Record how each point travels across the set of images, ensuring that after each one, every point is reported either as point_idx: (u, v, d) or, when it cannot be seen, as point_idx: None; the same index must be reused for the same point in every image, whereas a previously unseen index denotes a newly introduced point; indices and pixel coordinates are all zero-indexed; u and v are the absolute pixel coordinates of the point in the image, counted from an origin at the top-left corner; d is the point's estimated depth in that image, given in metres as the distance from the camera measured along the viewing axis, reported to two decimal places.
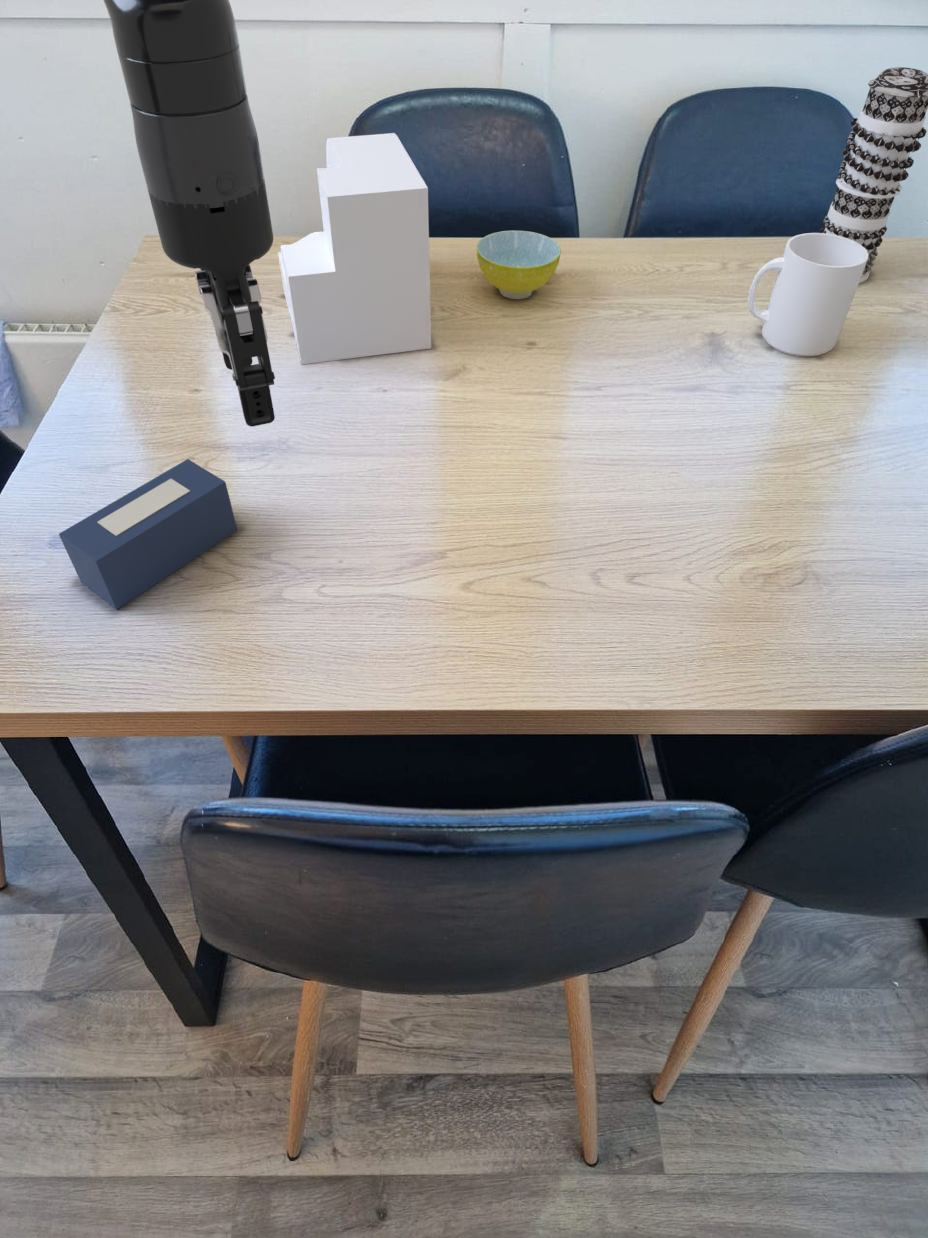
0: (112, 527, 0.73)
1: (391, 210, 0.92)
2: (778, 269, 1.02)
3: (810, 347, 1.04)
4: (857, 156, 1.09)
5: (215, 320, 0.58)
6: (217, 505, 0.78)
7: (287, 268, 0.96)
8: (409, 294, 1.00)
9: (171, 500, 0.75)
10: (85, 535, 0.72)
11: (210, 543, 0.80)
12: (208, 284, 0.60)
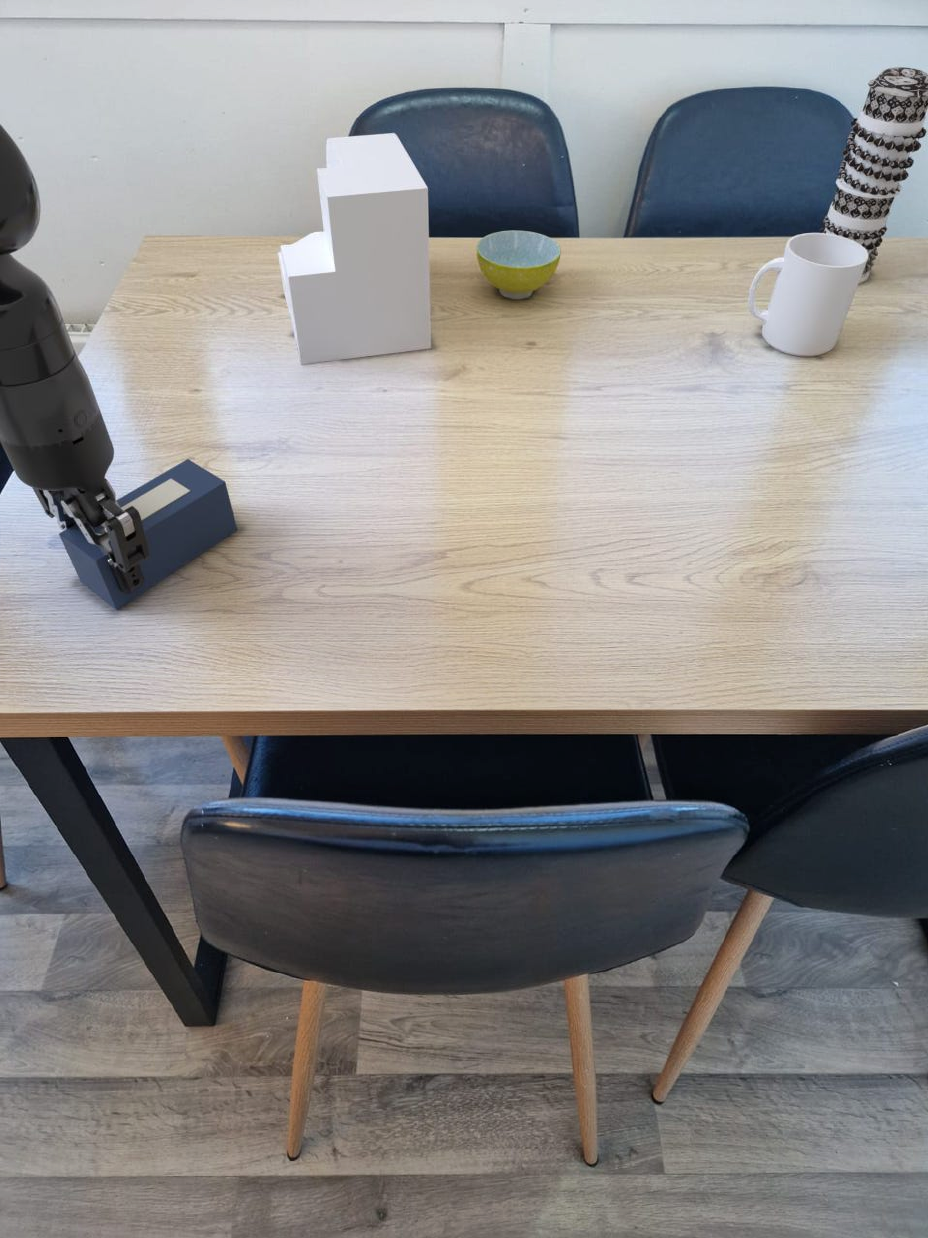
0: None
1: (391, 210, 0.92)
2: (778, 269, 1.02)
3: (810, 347, 1.04)
4: (857, 156, 1.09)
5: (85, 525, 0.68)
6: (217, 505, 0.78)
7: (287, 268, 0.96)
8: (409, 294, 1.00)
9: (171, 500, 0.75)
10: None
11: (210, 543, 0.80)
12: (60, 494, 0.68)
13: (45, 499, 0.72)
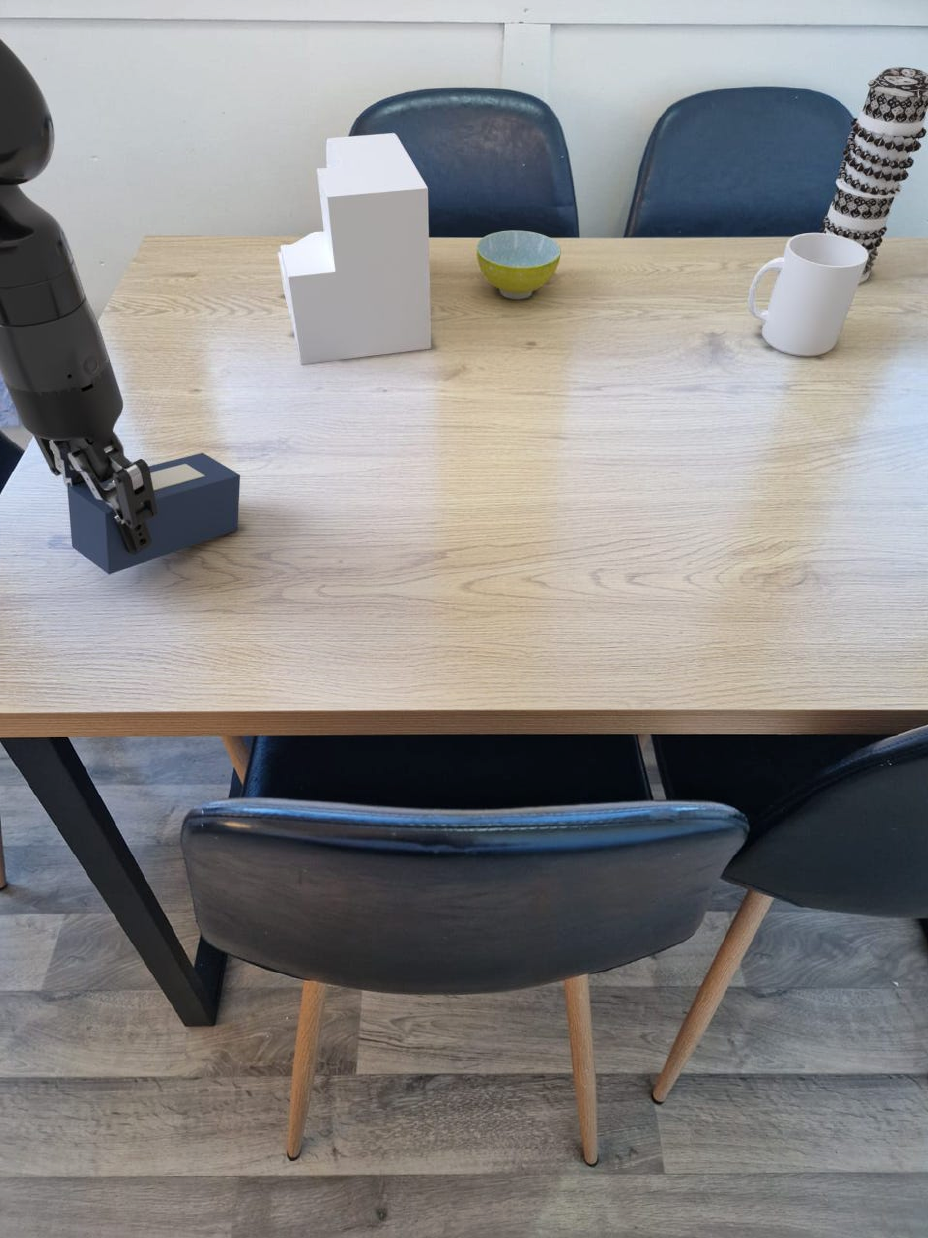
0: None
1: (391, 210, 0.92)
2: (778, 269, 1.02)
3: (810, 347, 1.04)
4: (857, 156, 1.09)
5: (92, 479, 0.66)
6: (227, 496, 0.79)
7: (287, 268, 0.96)
8: (409, 294, 1.00)
9: (186, 480, 0.76)
10: None
11: (210, 534, 0.79)
12: (67, 448, 0.67)
13: (51, 455, 0.71)
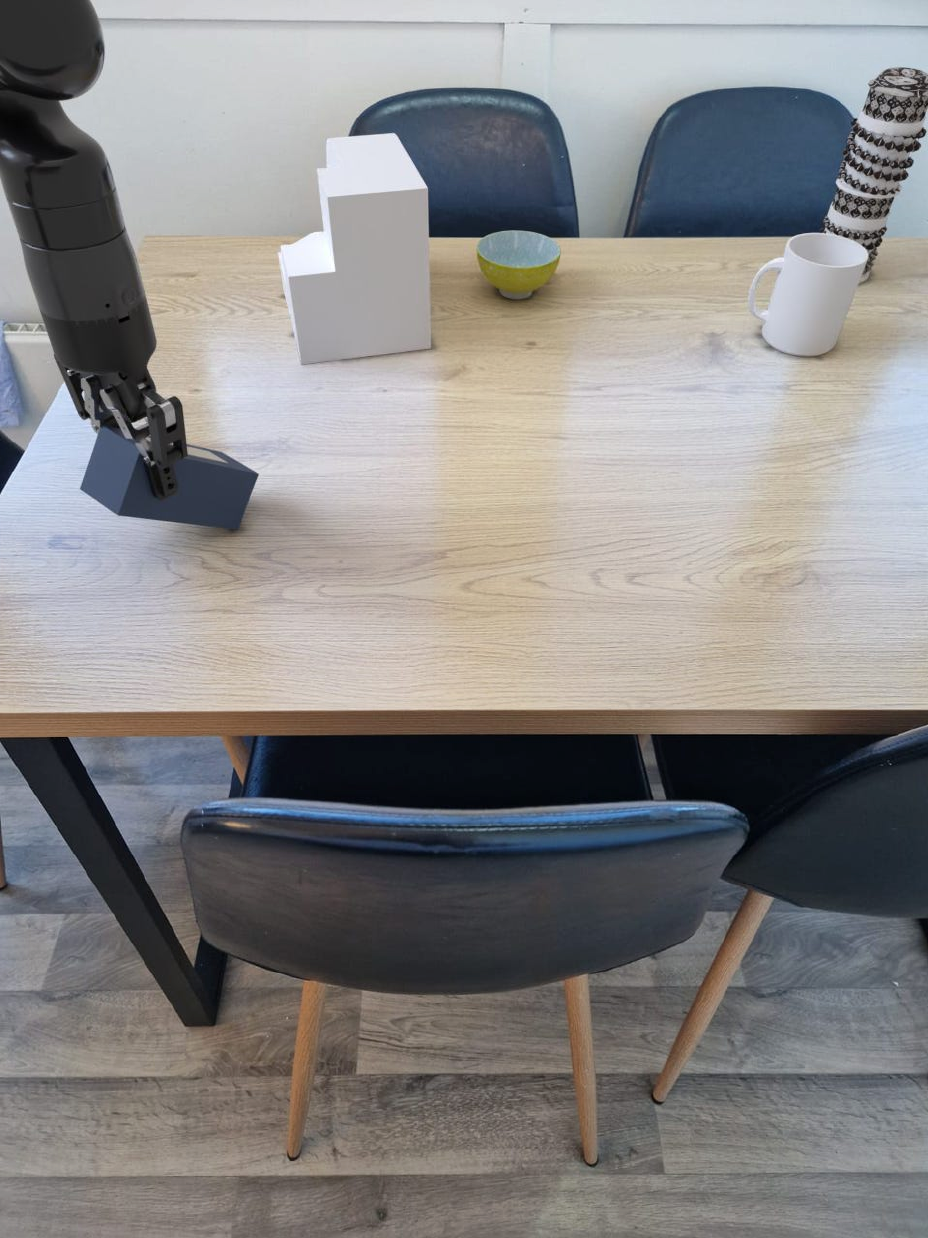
0: None
1: (391, 210, 0.92)
2: (778, 269, 1.02)
3: (810, 347, 1.04)
4: (857, 156, 1.09)
5: (124, 417, 0.66)
6: (241, 490, 0.80)
7: (287, 268, 0.96)
8: (409, 294, 1.00)
9: (211, 458, 0.77)
10: None
11: (215, 522, 0.79)
12: (98, 386, 0.66)
13: (79, 398, 0.70)
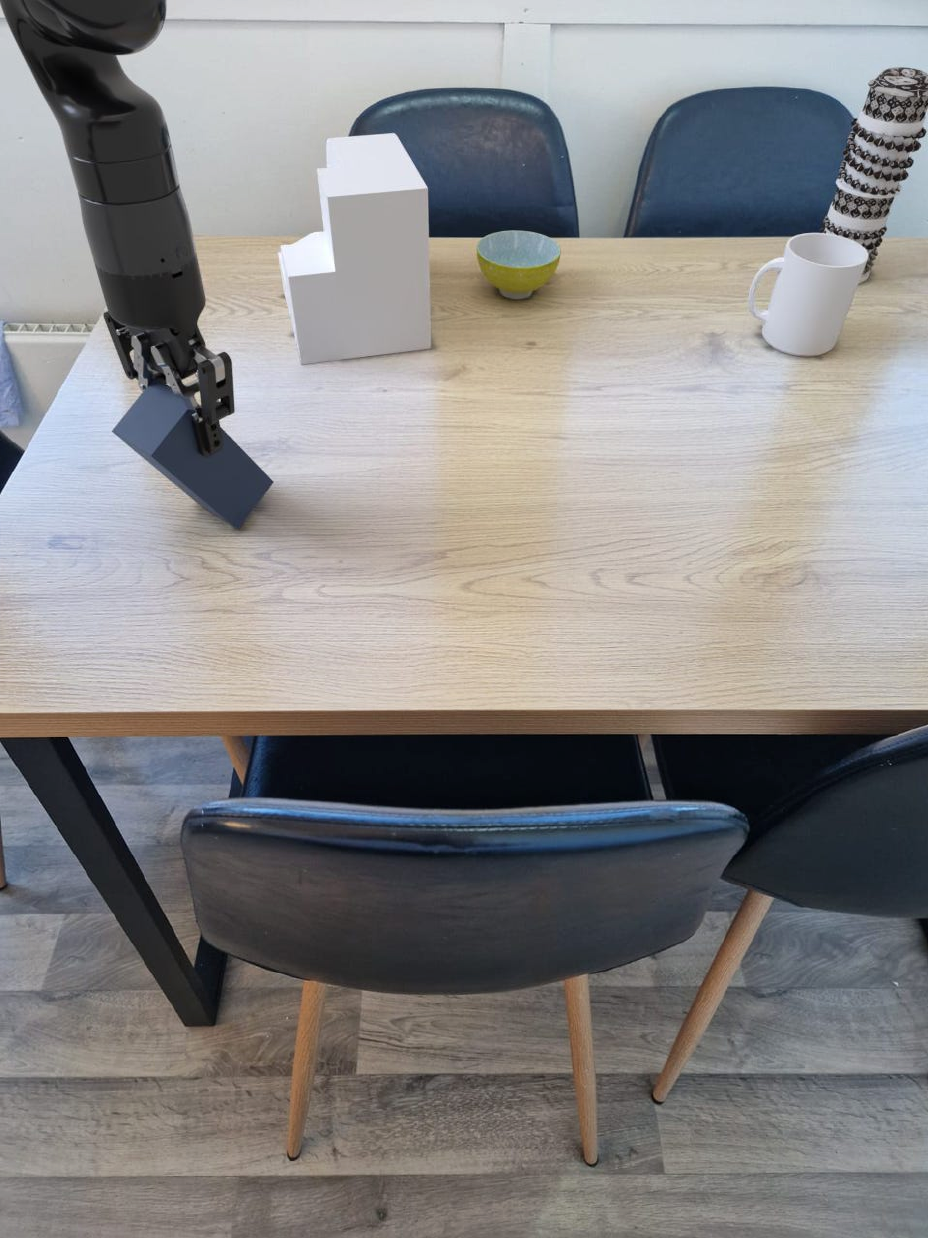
0: None
1: (391, 210, 0.92)
2: (778, 269, 1.02)
3: (810, 347, 1.04)
4: (857, 156, 1.09)
5: (174, 373, 0.67)
6: (255, 490, 0.81)
7: (287, 268, 0.96)
8: (409, 294, 1.00)
9: None
10: None
11: (223, 510, 0.79)
12: (148, 343, 0.68)
13: (127, 357, 0.72)
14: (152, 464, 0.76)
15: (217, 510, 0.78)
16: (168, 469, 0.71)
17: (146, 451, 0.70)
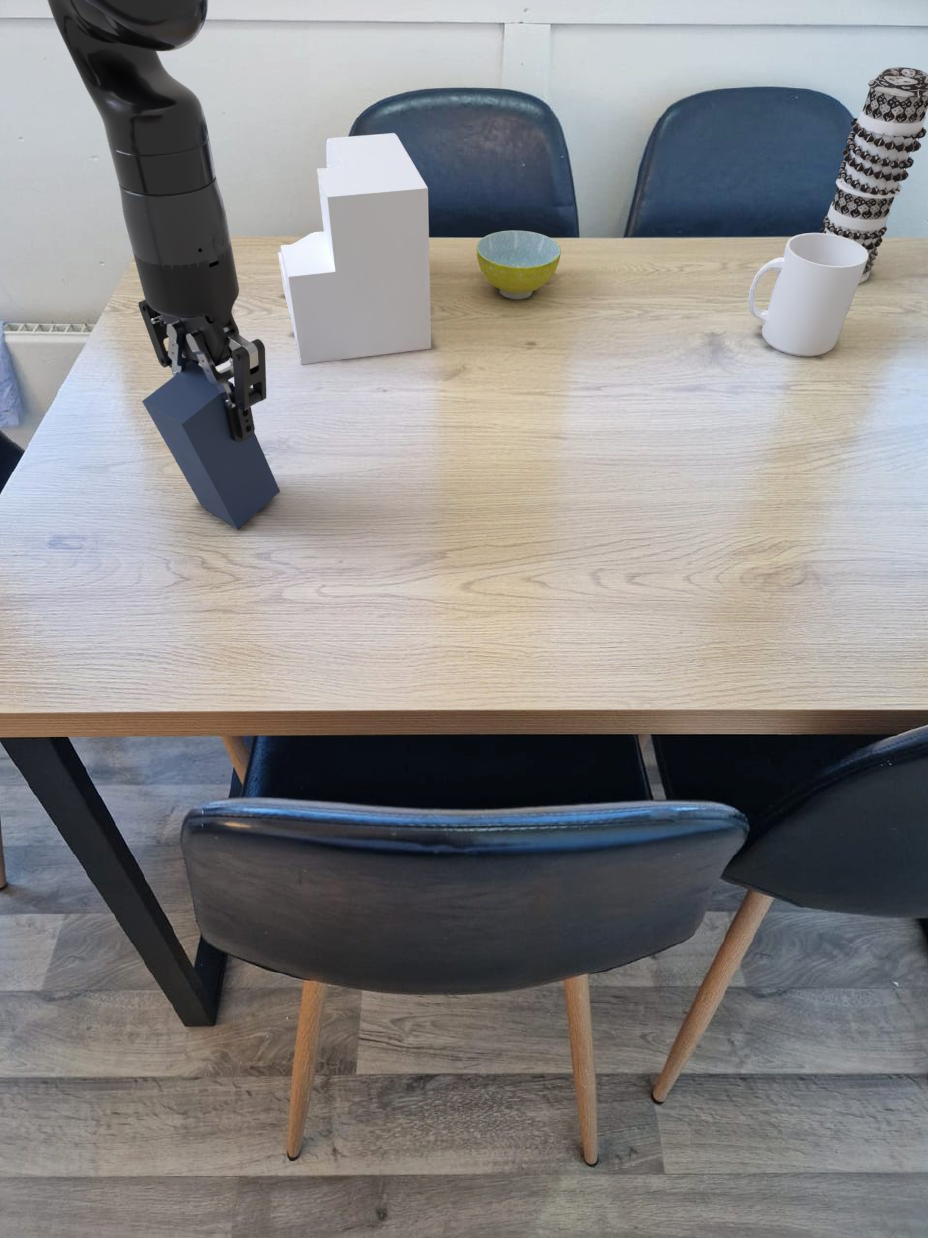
0: None
1: (391, 210, 0.92)
2: (778, 269, 1.02)
3: (810, 347, 1.04)
4: (857, 156, 1.09)
5: (208, 360, 0.70)
6: (262, 493, 0.82)
7: (287, 268, 0.96)
8: (409, 294, 1.00)
9: None
10: None
11: (230, 504, 0.79)
12: (183, 331, 0.70)
13: (161, 346, 0.74)
14: (171, 445, 0.76)
15: (225, 502, 0.79)
16: (193, 444, 0.72)
17: (177, 420, 0.71)
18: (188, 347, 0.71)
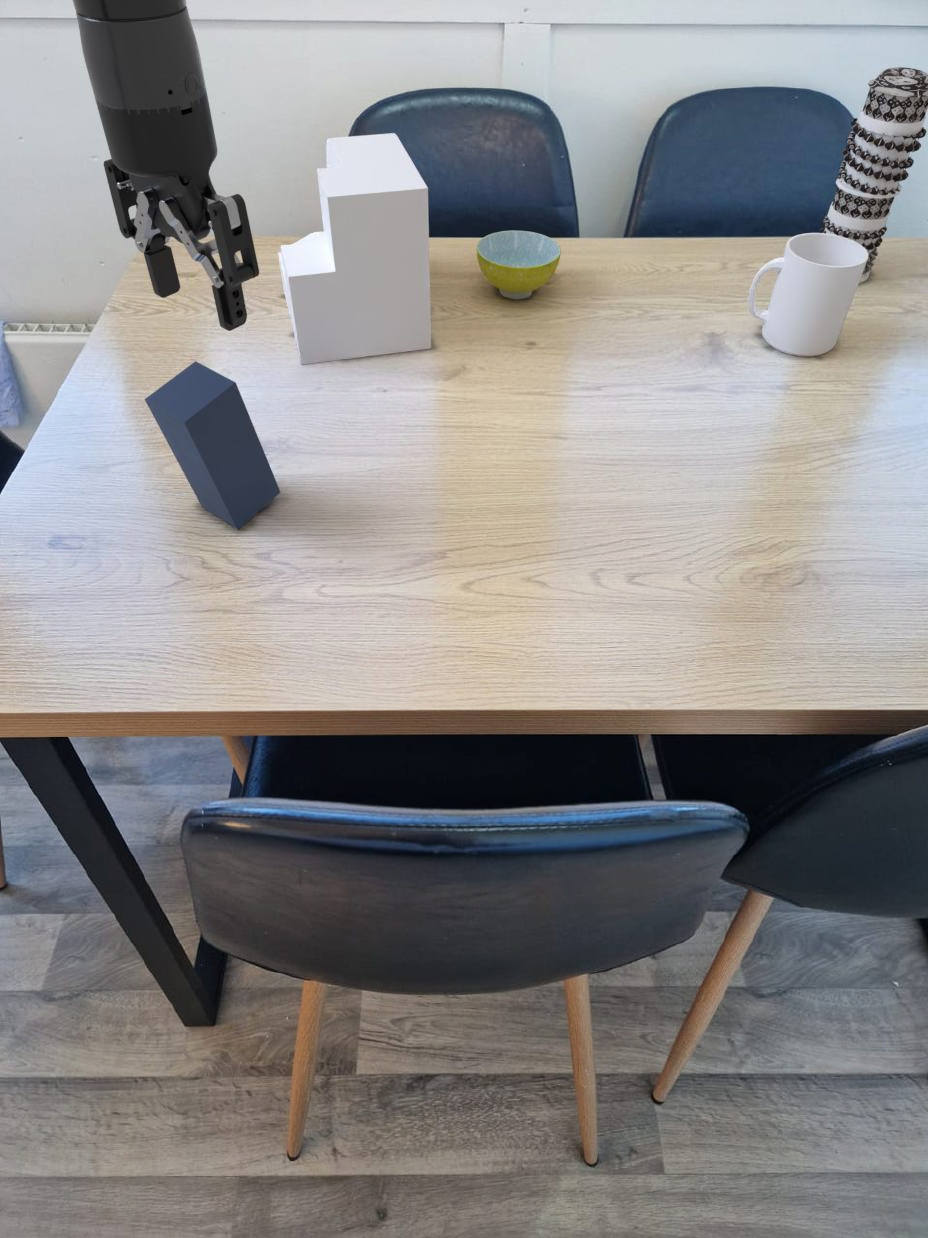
0: None
1: (391, 210, 0.92)
2: (778, 269, 1.02)
3: (810, 347, 1.04)
4: (857, 156, 1.09)
5: (186, 228, 0.62)
6: (263, 494, 0.82)
7: (287, 268, 0.96)
8: (409, 294, 1.00)
9: None
10: None
11: (230, 504, 0.79)
12: (156, 201, 0.63)
13: (125, 214, 0.67)
14: (172, 444, 0.76)
15: (225, 502, 0.79)
16: (195, 442, 0.72)
17: (180, 418, 0.71)
18: (162, 221, 0.64)
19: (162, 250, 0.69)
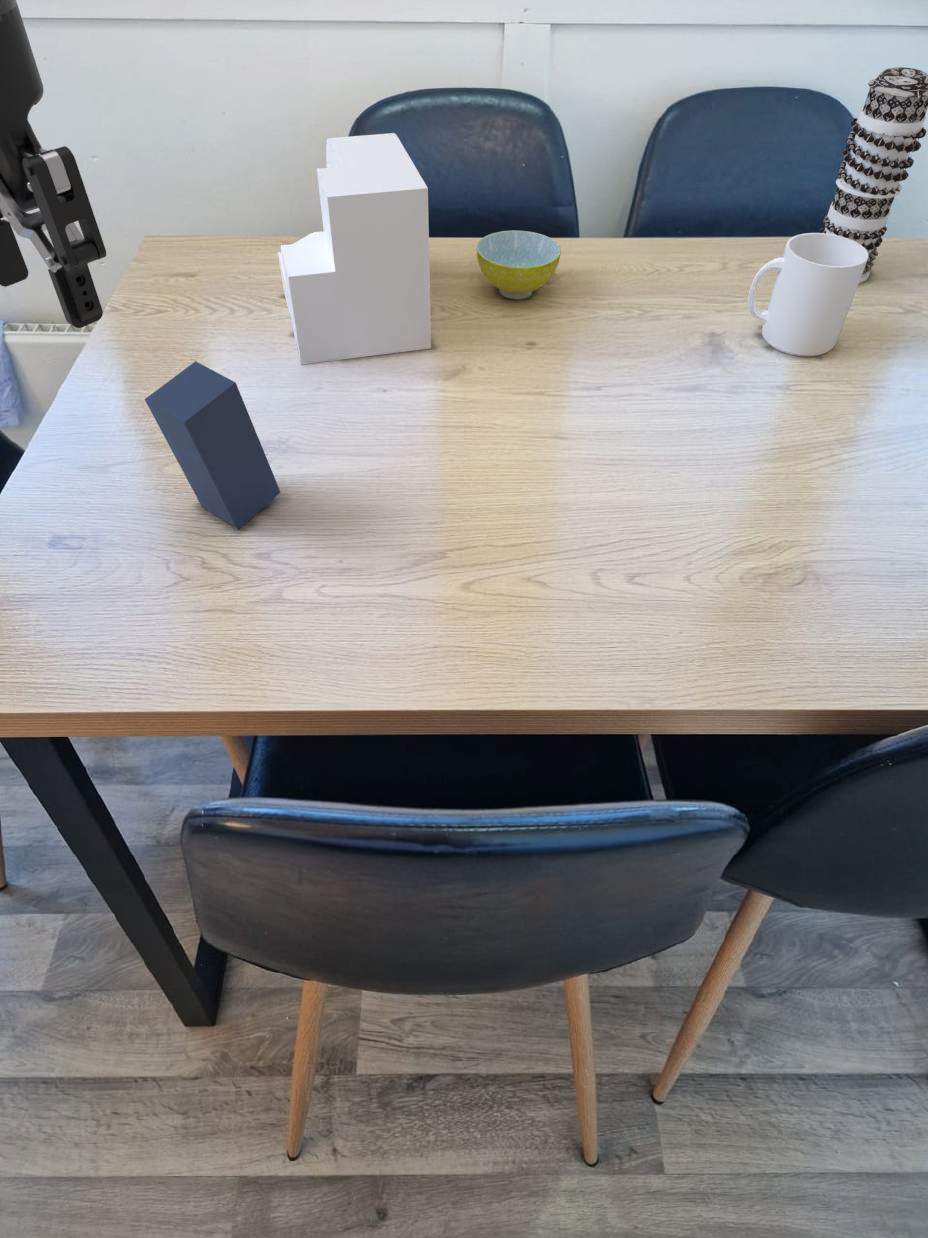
0: None
1: (391, 210, 0.92)
2: (778, 269, 1.02)
3: (810, 347, 1.04)
4: (857, 156, 1.09)
5: (3, 193, 0.47)
6: (263, 494, 0.82)
7: (287, 268, 0.96)
8: (409, 294, 1.00)
9: None
10: None
11: (230, 504, 0.79)
12: None
13: None
14: (172, 444, 0.76)
15: (225, 502, 0.79)
16: (195, 442, 0.72)
17: (180, 418, 0.71)
18: None
19: None
